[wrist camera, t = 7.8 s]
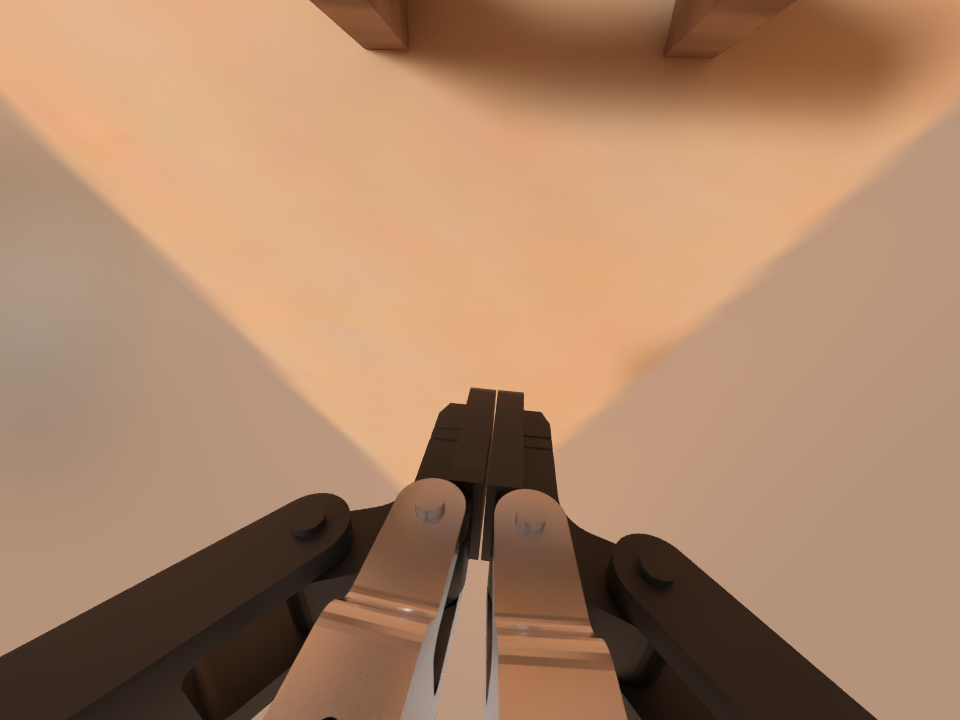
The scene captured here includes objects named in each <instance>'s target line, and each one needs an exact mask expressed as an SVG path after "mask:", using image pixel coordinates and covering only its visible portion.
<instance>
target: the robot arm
mask: <svg viewBox="0 0 960 720" xmlns="http://www.w3.org/2000/svg"><path fill="white" fill-rule="evenodd" d="M495 398H496V390H491V389H481V388H471V389H470V392H469V396H468V400H467V404H466V405H465V404H456V403H450V404H449V405H448V406H447V407H445V408H444V409H443V410H442V411H441V412H440V413H439V415H438V418H437V421H436V424H435V428H434V429H433V432H432V435H431V439H430V440H429V443H428V446H427V449H426V451H425V454H424V457H423V460H422V462H421V465H420V468H419V471H418V474H417V476H416V479H415V481H414V482H413V483H411V484H410V485H408V486H407V487H405V488H404V489H403V490H402V491H401V492H400V493H399V495H398V496H397V498H396V500H395V501H394V502H392V503H389V504H386V505H384V506H379V507H374V508H368V509H362V510H355V511H350V510H349V507H348V505H347V503H346V502H345V501H344V500H343V499H342V498H340V497H338V496H336V495H333V494H327V493H318V494H311V495H307V496H304V497H301V498H299V499H297V500H295V501H293V502H291V503H289V504H287V505H285V506H283V507H282V508H280V509H278V510H276V511H274V512H272V513H270V514H269V515H267V516H265V517H263V518H261V519H259V520H257V521H255V522H253V523H251V524H249V525H248V526H246V527H244V528H242V529H240V530H238V531H236V532H235V533H233V534H231V535H229V536H227V537H225V538H223V539H221V540H219V541H217V542H216V543H214V544H212V545H210V546H208V547H207V548H204V549H202V550H201V551H199V552H197V553H195V554H193V555H191V556H189V557H187V558H186V559H184V560H182V561H180V562H178V563H176V564H174V565H172V566H170V567H169V568H167V569H165V570H163V571H161V572H159V573H157V574H156V575H154V576H152V577H150V578H148V579H146V580H144V581H142V582H141V583H139V584H137V585H135V586H133V587H131V588H129V589H127V590H125V591H123V592H122V593H120V594H118V595H116V596H114V597H112V598H110V599H108V600H107V601H105V602H103V603H101V604H99V605H97V606H95V607H93V608H92V609H90V610H88V611H86V612H84V613H82V614H80V615H78V616H77V617H75V618H73V619H71V620H69V621H67V622H65V623H63V624H61V625H60V626H58V627H56V628H54V629H52V630H50V631H48V632H46V633H45V634H43V635H41V636H39V637H37V638H35V639H33V640H31V641H30V642H28V643H26V644H24V645H22V646H20V647H18V648H16V649H15V650H13V651H11V652H9V653H7V654H5V655H3V656H1V657H0V720H251V719H252V718H253V717H254V716H255V715H257V714H258V713H259V712H260V711H261V710H263V709H264V708H265V707H266V706H267V705H268V704H270V703H271V702H272V701H273V702H272V704H271V706H270V707H269V709H268V711H267V713H266V715H265V717H264V719H263V720H435V718H436V711H437V705H438V700H439V695H440V691H441V686H442V682H443V677H444V673H445V668H446V664H447V659H448V655H449V650H450V646H451V642H452V637H453V632H454V627H455V624H456V619H457V615H458V610H459V605H460V601H461V596H462V589H463V587H464V584H465V580H466V573H467V566H468V559H475V560H478V556H479V548H480V539H481V530H482V523H483V514H484V506H485V516H484V529H483V542H482V555H481V560H484V561H490V562H489V574H488V586H487V597H486V636H485V638H486V639H485V698H484V720H877V719H876V718H875V717H874V716H872V715H871V714H870V713H869V712H868V711H866V710H865V709H864V708H863V707H862V706H861V705H860V704H858V703H857V702H856V701H855V700H854V699H852V698H851V697H850V696H849V695H848V694H847V693H846V692H844V691H843V690H842V689H841V688H840V687H838V686H837V685H836V684H835V683H834V682H833V681H831V680H830V679H829V678H828V677H827V676H826V675H824V674H823V673H822V672H821V671H820V670H819V669H817V668H816V667H815V666H814V665H812V664H811V663H810V662H809V661H808V660H807V659H806V658H804V657H803V656H802V655H801V654H800V653H799V652H797V651H796V650H795V649H794V648H793V647H792V646H790V645H789V644H788V643H787V642H786V641H785V640H783V639H782V638H781V637H780V636H779V635H778V634H776V633H775V632H774V631H773V630H772V629H770V628H769V627H768V626H767V625H766V624H765V623H763V622H762V621H761V620H760V619H759V618H758V617H756V616H755V615H754V614H753V613H752V612H751V611H749V610H748V609H747V608H746V607H745V606H744V605H742V604H741V603H740V602H739V601H737V600H736V599H735V598H734V597H733V596H732V595H731V594H729V593H728V592H727V591H726V590H725V589H724V588H722V587H721V586H720V585H719V584H718V583H717V582H715V581H714V580H713V579H712V578H710V577H709V576H708V575H707V574H706V573H705V572H704V571H702V570H701V569H700V568H699V567H698V566H697V565H695V564H694V563H693V562H692V561H691V560H690V559H688V558H687V557H686V556H685V555H684V554H682V553H681V552H680V551H679V550H678V549H676V548H675V547H674V546H672V545H671V544H669V543H667V542H666V541H664V540H662V539H660V538H657V537H654V536H651V535H647V534H630V535H627V536H625V537H623V538H621V539H620V540H619V541H618V542H617V543H616V544H614V543H612V542H610V541H607V540H605V539H603V538H600V537H598V536H595V535H593V534H591V533H589V532H586V531H585V530H583V529H581V528H580V527H578V526H577V525H576V524H575V523H573V522H572V521H571V520H570V519H569V518H568V517H567V515H566V514H565V512H564V511H563V509H562V507H561V506H560V503H559V500H558V493H557V484H556V475H555V466H554V457H553V452H552V451H553V448H552V441H551V429H550V424H549V422H548V421H547V420H546V418H545V417H544V415H543V414H542V413H541V412H535V411H525V410H524V393H523V392H512V391H502V390H498V396H497V405H496V413H495V421H494V411H495ZM493 423H494V430H493ZM492 435H493V438H492ZM491 446H492V447H491ZM486 489H487V491H486ZM485 498H486V504H485Z"/></svg>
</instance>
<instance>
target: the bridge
mask: <svg viewBox="0 0 960 720" xmlns="http://www.w3.org/2000/svg"><path fill="white" fill-rule="evenodd" d="M310 1H311V2H312V3H313V4H315V5H316V6H317V7H318V8H319V9H320V10H321V11H322V12H324V13H325V14H326V15H327V16H328V17H329V18H330V19H332V20H333V21H334V22H335V23H336V24H337V25H338V26H339V27H341V28H342V29H343V30H344V31H345V32H346V33H347V34H349V35H350V36H351V37H352V38H353V39H354V40H355V41H356V42H358V43H359V44H360V45H361V46H362V47H363V48H364V49H393V50H408V26H407V0H310ZM795 1H796V0H676V2H675V6H674V11H673V15H672V20H671V25H670V29H669V34H668V39H667V43H666V48H665V52H664V57H688V58H714V57H716V56H717V55H718V54H720V53H721V52H723V51H724V50H726V49H727V48H729V47H730V46H731V45H733V44H734V43H736V42H737V41H739V40H740V39H741V38H743V37H744V36H746V35H747V34H749V33H750V32H752V31H753V30H754V29H756V28H757V27H759V26H760V25H762V24H763V23H765V22H766V21H767V20H769V19H770V18H772V17H773V16H775V15H776V14H777V13H779V12H780V11H782V10H783V9H785V8H786V7H788V6H789V5H790V4H792V3H793V2H795Z"/></svg>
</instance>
